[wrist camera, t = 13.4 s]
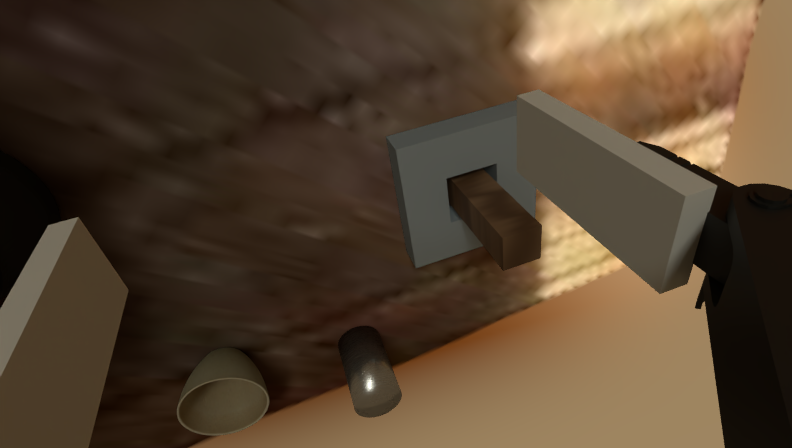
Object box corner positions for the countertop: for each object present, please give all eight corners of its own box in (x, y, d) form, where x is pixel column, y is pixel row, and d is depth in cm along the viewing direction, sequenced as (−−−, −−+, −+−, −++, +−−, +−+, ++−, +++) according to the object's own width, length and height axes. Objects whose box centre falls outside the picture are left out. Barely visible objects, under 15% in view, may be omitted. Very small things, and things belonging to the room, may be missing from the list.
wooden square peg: (446, 200, 55) (503, 270, 44) (443, 171, 53) (502, 238, 42) (477, 190, 56) (540, 257, 45) (475, 161, 54) (541, 225, 42)
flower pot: (239, 320, 56) (241, 365, 50) (278, 364, 62) (284, 410, 56) (163, 356, 55) (157, 406, 50) (210, 398, 61) (208, 447, 56)
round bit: (343, 362, 66) (359, 423, 58) (333, 334, 62) (349, 395, 54) (382, 348, 67) (404, 406, 59) (375, 320, 63) (397, 378, 55)
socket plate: (406, 251, 58) (416, 268, 55) (386, 136, 49) (395, 149, 46) (520, 214, 61) (534, 228, 58) (521, 98, 51) (538, 109, 49)
